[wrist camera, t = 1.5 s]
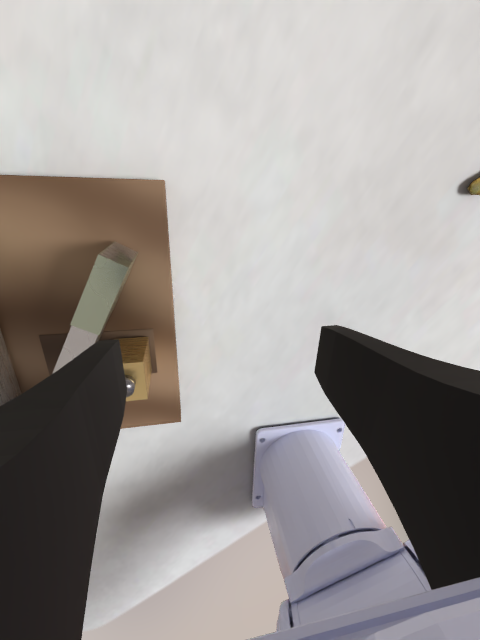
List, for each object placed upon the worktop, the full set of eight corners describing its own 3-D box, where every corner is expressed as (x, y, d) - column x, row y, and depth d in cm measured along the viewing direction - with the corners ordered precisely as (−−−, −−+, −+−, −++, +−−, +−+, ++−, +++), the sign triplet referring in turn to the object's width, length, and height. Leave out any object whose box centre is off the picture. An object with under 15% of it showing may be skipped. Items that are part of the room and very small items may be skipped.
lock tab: (151, 369, 19) (146, 406, 16) (119, 372, 19) (107, 410, 16) (148, 336, 18) (141, 368, 15) (113, 338, 18) (99, 371, 15)
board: (180, 410, 23) (180, 422, 22) (4, 429, 21) (-6, 443, 19) (164, 180, 16) (163, 179, 15) (-92, 172, 14) (-116, 171, 13)
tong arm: (71, 405, 19) (49, 448, 16) (49, 399, 19) (22, 443, 15) (138, 252, 16) (128, 267, 13) (114, 241, 16) (97, 254, 13)
